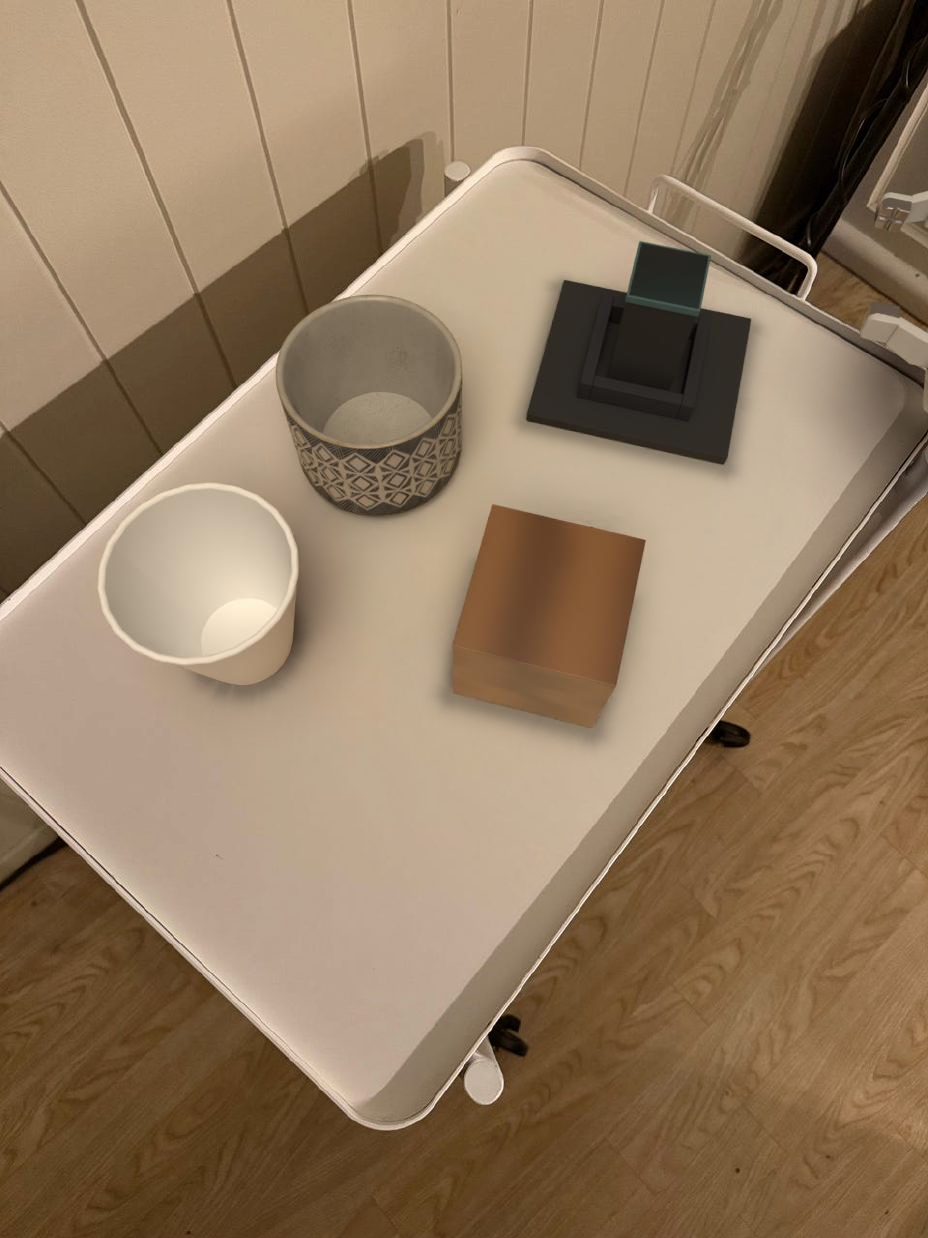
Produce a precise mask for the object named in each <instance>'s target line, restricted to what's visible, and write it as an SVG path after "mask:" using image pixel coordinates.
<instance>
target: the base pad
mask: <svg viewBox="0 0 928 1238" xmlns="http://www.w3.org/2000/svg"><path fill="white" fill-rule="evenodd" d="M626 295H627V292H625V291H620V290H616V289H611V288H606V287H603V286H602V287H601V286H598V285H597V286H596V285H592V284H588V283H582V282H577V281H573V280H568V279H564V280H563V283H562V286H561V290H560V292H559V297H558V300H557V304H556V307H555V311H554V315H553V318H552V322H551V325H550V329H549V333H548V336H547V340H546V344H545V347H544V351H543V354H542V357H541V358H542V359H541V361H540V364H539V369H538V373H537V376H536V379H535V383H534V387H533V391H532V394H531V398H530V401H529V405H528V408H527V413H526V417H525V420H526V421H527V422H531V423H535V424H540V425H544V426H549V427H552V428H558V429H562V430H568V431H571V432H576V433H581V434H585V435H587V436H588V435H589V436H594V437H598V438H602V439H605V440H611V441H615V442H621V443H625V444H630V445H634V446H638V447H642V448H647V449H652V450H656V451H659V452H660V451H661V452H665V453H669V454H674V455H678V456H682V457H688V458H690V459H691V458H692V459H696V460H701V461H705V462H710V463H714V464H719V465H724V464H725V463H726V462H727V460H728V457H729V451H730V446H731V439H732V435H733V434H732V433H733V428H734V422H735V416H736V410H737V405H738V400H739V393H740V387H741V381H742V376H743V370H744V364H745V359H746V354H747V353H746V352H747V348H748V347H747V346H748V342H749V336H750V330H751V323H752V318H751V317H746V316H741V315H736V314H731V313H726V312H722V311H717V310H712V309H707V308H702V307H701V310H700V313H699V316H698V317H696V319H695V322H694V325H693V327H692V330H691V333H690V336H689V338H688V341H687V344H686V346H685V349H684V352H683V354H682V357H681V360H680V362H679V365H678V368H677V371H676V373H675V376H674V379H673V381H672V384H671V387H670V389H669V391H666V390H661V389H656V388H652V387H647V386H643V385H638V384H633V383H629V382H624V381H620V380H615V379H610V378H607V375H608V371H609V366H610V362H611V358H612V354H613V350H614V345H615V341H616V337H617V333H618V329H619V325H620V321H621V317H622V313H623V309H624V305H625V300H626Z"/></svg>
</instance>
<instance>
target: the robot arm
mask: <svg viewBox="0 0 928 1238" xmlns="http://www.w3.org/2000/svg"><path fill="white" fill-rule="evenodd" d="M873 220H874V221H873V225H874V228H875V229H877V230H881V231H882V230H886V231H888V232H891V233H896V234H898V233H899V232H900V230H901V229H902V227H903V225H906V224H911V223H912V224H913V223H918V222H924V223H923V226H924V228H925V229H928V190H926V191H922V192H919V193H914V194H912V195H910V194H909V195H907V194H904V193H903V194H902V193H897V192H892V191H890V192H889V191H888V192H886V193H884V194H883V195H882V196H881V198H880V199H879V201H878V204H877V206H876V207H875V212H874V219H873ZM900 312H901V306H900V305H893V304H884V303H883V302H880V301H874V302H871V303H869V305H867V308H866V310H865V312H863V314H862V316H861V323H860V328H859V336H860V337H861V338H862V339H864V340H869V341H873V342H878V343H883V344H885V346H886V347H887V348H889V349H890V350H891V351H893V352H894V353H895V354H896V355H897V356H899V357H900V358H901V359H902V360H903V361H905V362H906V363H908V364H909V365H911V366H917V367H920V368H925V374H924V385H923V395H922V409H923V410H924V411H925V412H926V413H927V414H928V327H927V328H926V329H925V330H924V329H922V328H920V327H918V326H917V325H915V324H913V323H911V322H910V321H909V320H906V319H905V318H903V317H902V316H900Z"/></svg>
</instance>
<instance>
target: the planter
mask: <svg viewBox="0 0 928 1238" xmlns="http://www.w3.org/2000/svg"><path fill="white" fill-rule="evenodd" d="M275 384H276V389H277V393H278V397H279V400H280V403H281V406H282V409H283V412H284V415H285V419H286V422H287V426H288V428H289V432H290V435H291V438H292V441H293V443H294V448H295V451H296V454H297V458H298V460H299V463H300V466H301V469H302V471H303V474H304V476H305V478H306V479H307V480H308V482H309V484H310V485H311V487H312V488H313V489H314V490H315V491H316V492H317V493H318V494H319V495H320V496H321V497H323V498H324V499H325V500H327V501H328V502H329V503H332V504H333V505H335V506H336V507H338V508H341V509H343V510H346V511H348V512H351V513H354V514H360V515H366V516H390V515H396V514H401V513H404V512H408V511H411V510H414V509H416V508H417V507H419V506H422V505H423V504H426V503H427V502H428V501H430V500H431V499H433V498H434V497H435V496H437V494H438V493H440V492H441V491H442V490H443V489H444V488H445V486H446V485H447V484H448V482H449V481H451V479H452V477H453V475H454V473H455V472H456V470H457V468H458V465H459V461H460V458H461V453H462V442H463V432H462V431H463V360H462V354H461V350H460V348H459V345H458V342H457V341H456V338H455V336H454V335H453V334H452V332H451V330H450V329H449V328H448V327H447V325H446V324H445V323H444V322H443V321H442V320H441V319H440V318H439V317H438V316H436V315H435V314H434V313H433V312H431V311H430V310H428V309H426V308H425V307H423V306H422V305H420V304H418V303H416V302H412V301H410V300H407V299H404V298H401V297H396V296H393V295H386V294H360V295H359V294H358V295H352V296H348V297H342V298H340V299H336V300H334V301H331V302H328V303H326V304H324V305H322V306H320V307H318V308H316V309H315V310H313V311H312V312H310V313H309V314H307V315H306V316H305V317H304V318H302V319H301V320H300V321H299V322H298V323H297V324H296V325H295V326H294V327H293V328H292V330H291V331H290V332H289V334H288V335H287V337H286V338H285V340H284V341H283V343H282V345H281V347H280V350H279V352H278V355H277V360H276V364H275Z"/></svg>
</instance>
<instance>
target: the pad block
mask: <svg viewBox="0 0 928 1238" xmlns="http://www.w3.org/2000/svg"><path fill="white" fill-rule="evenodd" d="M637 245H638V246H637V249H636V253H635V254H636V255H635V257H634V262H633V266H632V270H631V275H630V277H629V284H628V288H627V292H626V293H627V295H626V300H625V305H624V309H623V313H622V317H621V321H620V325H619V329H618V333H617V337H616V341H615V345H614V350H613V354H612V358H611V362H610V366H609V371H608V375H607V378H610V379H615V380H620V381H624V382H629V383H633V384H638V385H643V386H647V387H652V388H656V389H661V390H666V391H669V389H670V387H671V384H672V381H673V379H674V376H675V373H676V371H677V368H678V365H679V362H680V360H681V357H682V354H683V352H684V349H685V346H686V344H687V341H688V338H689V336H690V333H691V330H692V327H693V325H694V322H695V319H696V317H698V316H699V313H700V310H701V308H702V304H703V299H704V294H705V288H706V284H707V278H708V274H709V270H710V264H711V258H712V255H711V254H707V253H702V252H697V251H691V250H687V249H682V248H677V247H671V246H668V245H667V246H666V245H661V244H656V243H651V242H646V241H642V240H639V242H638V244H637Z"/></svg>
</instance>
